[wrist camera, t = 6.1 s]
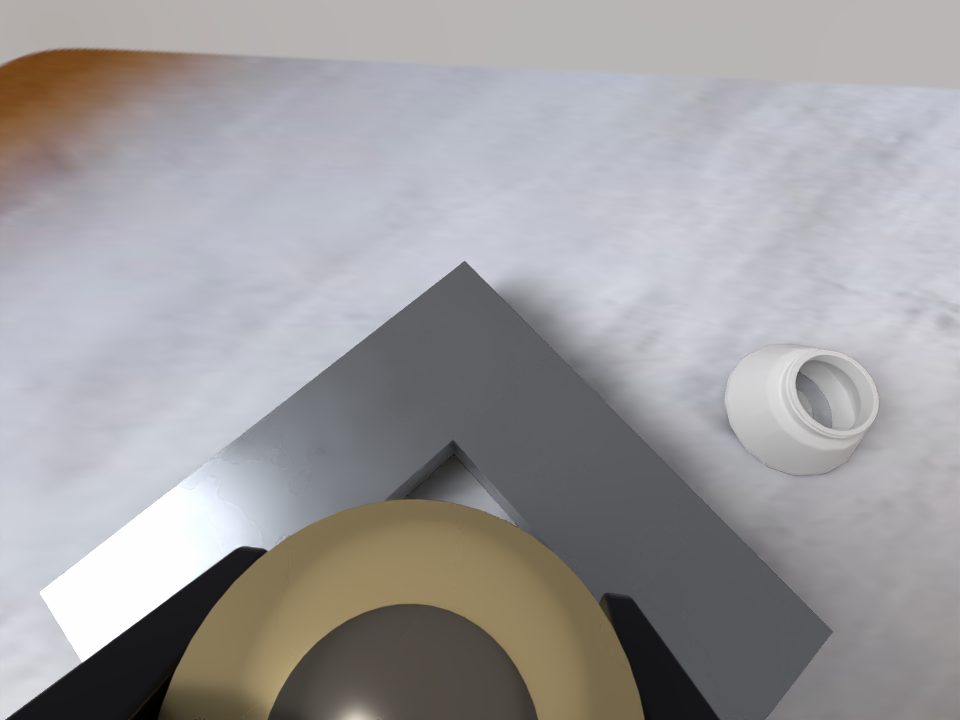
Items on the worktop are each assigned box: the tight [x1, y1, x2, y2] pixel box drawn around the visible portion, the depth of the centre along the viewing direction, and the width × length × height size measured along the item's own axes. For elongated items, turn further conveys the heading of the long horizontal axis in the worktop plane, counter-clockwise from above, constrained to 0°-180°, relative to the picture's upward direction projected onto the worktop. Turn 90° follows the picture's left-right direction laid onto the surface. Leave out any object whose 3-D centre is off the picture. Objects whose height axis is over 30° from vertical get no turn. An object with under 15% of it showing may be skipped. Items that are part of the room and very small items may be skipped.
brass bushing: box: [158, 499, 645, 720], centre depth 9 cm, size 5×5×9 cm
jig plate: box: [40, 261, 833, 720], centre depth 16 cm, size 16×16×3 cm
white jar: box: [724, 344, 879, 476], centre depth 19 cm, size 5×3×5 cm
